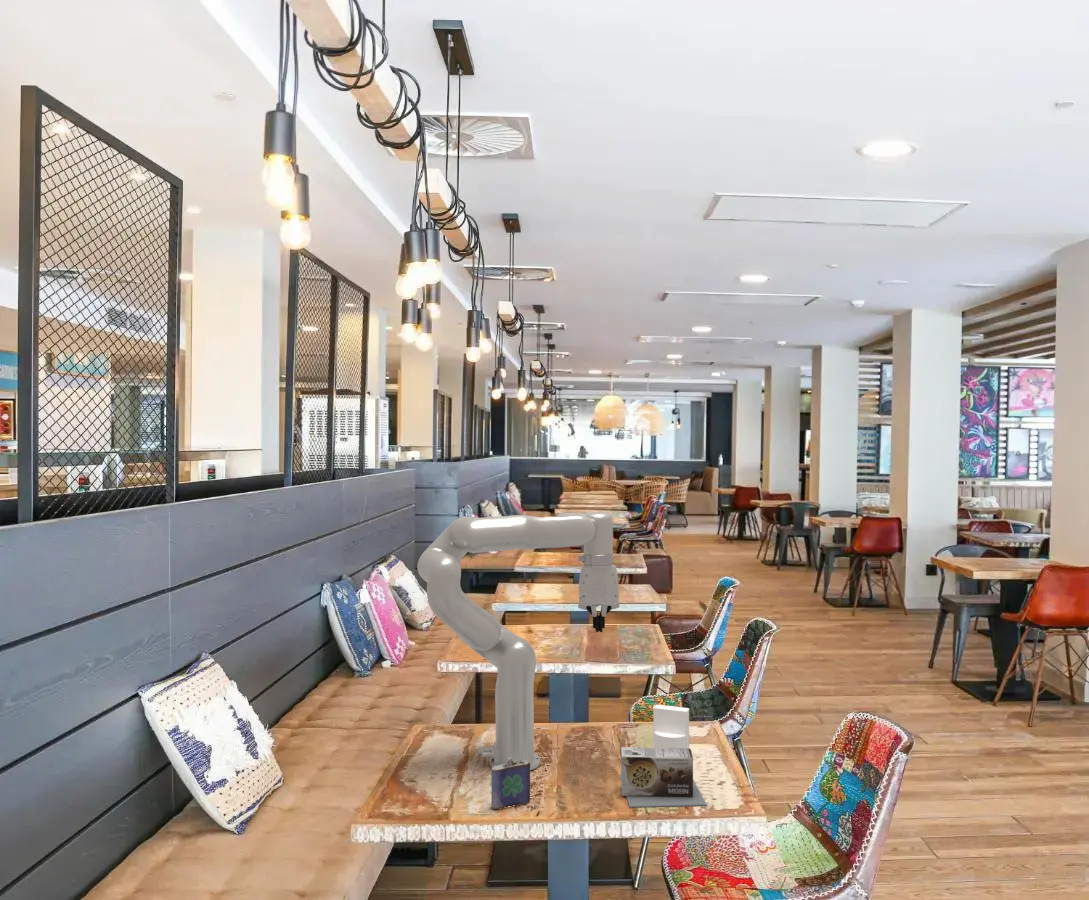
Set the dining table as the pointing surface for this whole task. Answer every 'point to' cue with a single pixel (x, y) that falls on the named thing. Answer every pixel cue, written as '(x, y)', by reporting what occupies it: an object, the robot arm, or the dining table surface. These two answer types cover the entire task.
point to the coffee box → (656, 772)
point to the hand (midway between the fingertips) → (598, 631)
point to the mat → (667, 800)
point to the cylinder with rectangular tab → (671, 727)
